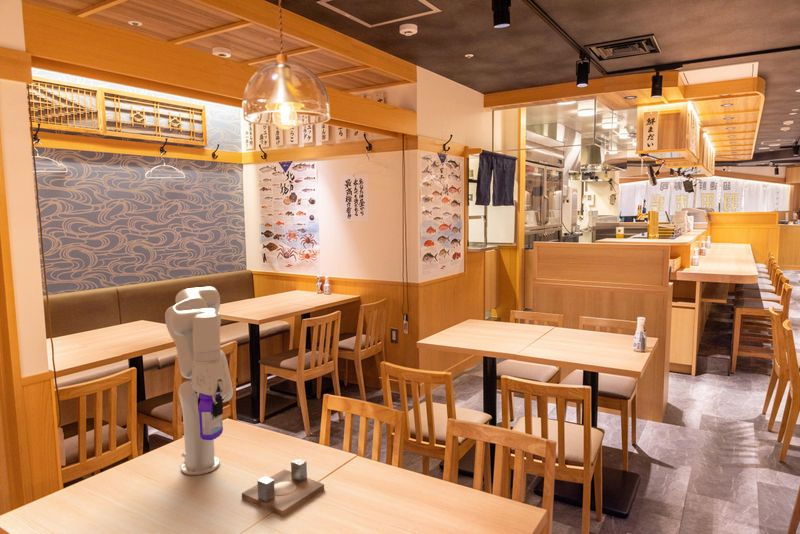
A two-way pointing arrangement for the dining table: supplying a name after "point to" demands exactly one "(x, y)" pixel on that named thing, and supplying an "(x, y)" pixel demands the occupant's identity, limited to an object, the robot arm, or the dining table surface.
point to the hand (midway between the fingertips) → (210, 412)
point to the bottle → (209, 419)
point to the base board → (285, 493)
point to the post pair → (267, 484)
